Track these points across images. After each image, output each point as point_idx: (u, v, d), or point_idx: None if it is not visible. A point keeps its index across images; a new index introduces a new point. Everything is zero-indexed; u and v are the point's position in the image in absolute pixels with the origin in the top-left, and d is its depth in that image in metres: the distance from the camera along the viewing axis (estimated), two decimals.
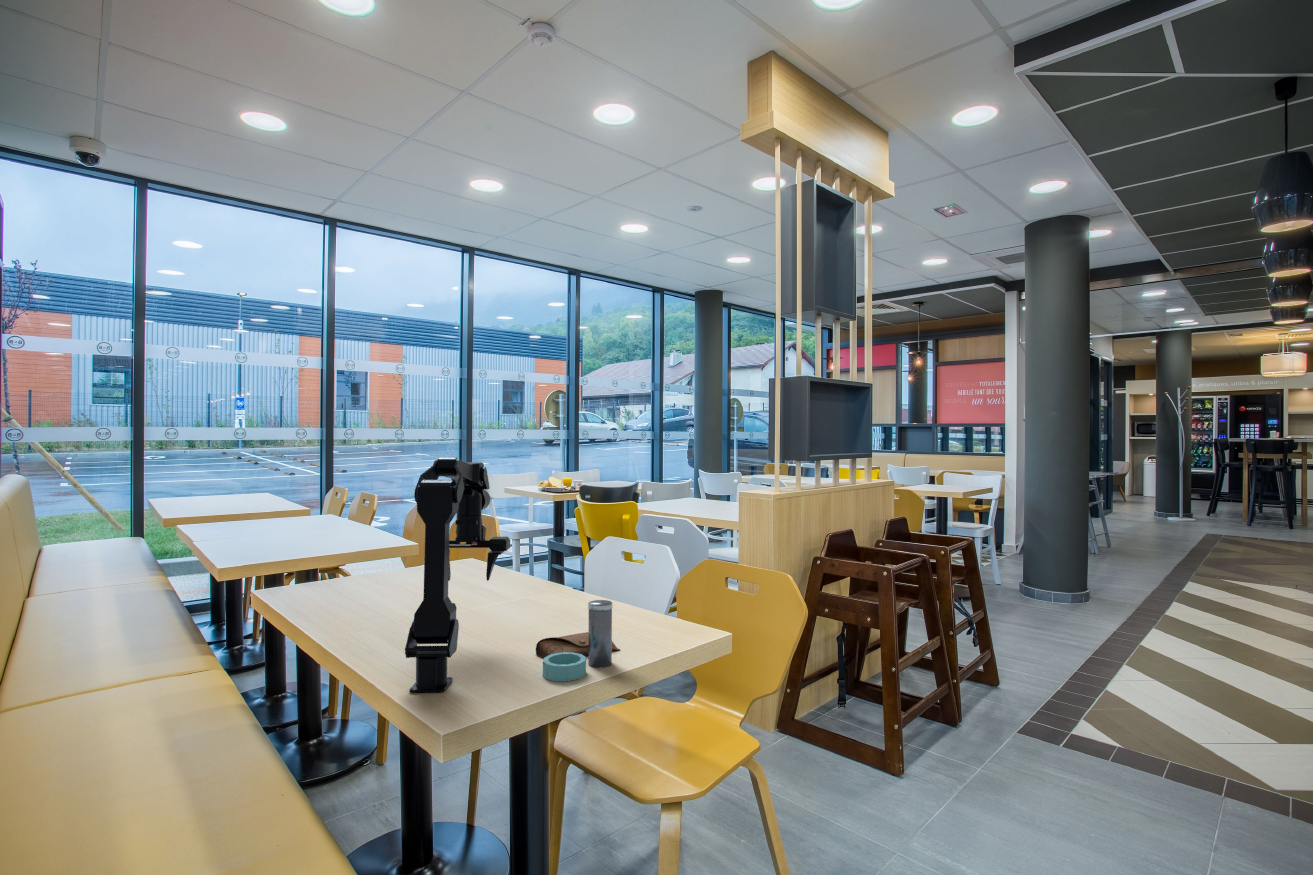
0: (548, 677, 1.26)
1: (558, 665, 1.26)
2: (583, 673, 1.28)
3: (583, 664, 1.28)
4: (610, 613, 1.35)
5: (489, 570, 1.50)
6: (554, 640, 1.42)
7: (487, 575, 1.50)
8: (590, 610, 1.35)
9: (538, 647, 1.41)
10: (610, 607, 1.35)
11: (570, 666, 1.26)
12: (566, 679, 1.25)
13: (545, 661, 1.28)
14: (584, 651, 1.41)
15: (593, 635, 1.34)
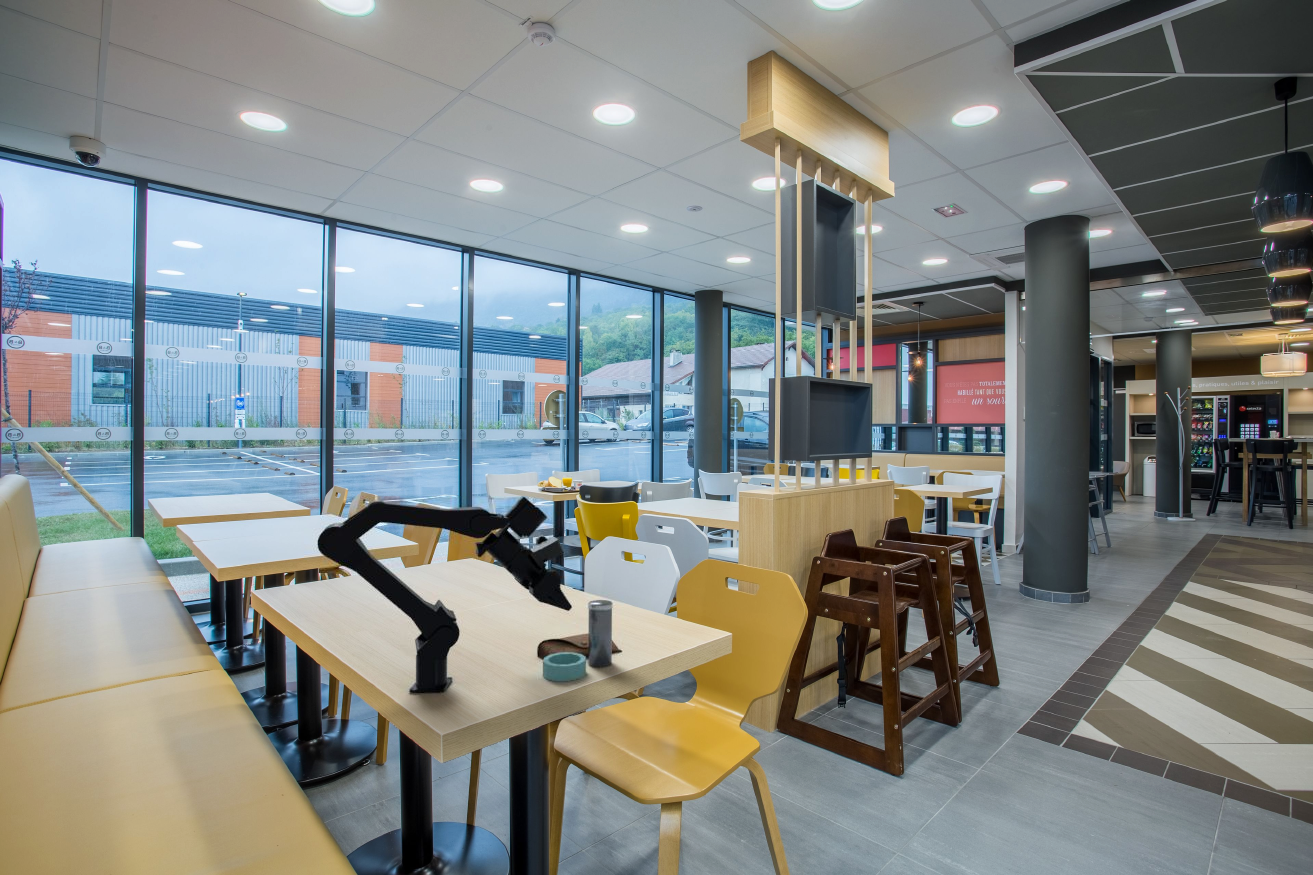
0: (548, 677, 1.26)
1: (558, 665, 1.26)
2: (583, 673, 1.28)
3: (583, 664, 1.28)
4: (610, 613, 1.35)
5: None
6: (555, 641, 1.41)
7: (562, 608, 1.28)
8: (590, 610, 1.35)
9: (539, 648, 1.40)
10: (610, 607, 1.35)
11: (570, 666, 1.26)
12: (566, 679, 1.25)
13: (545, 661, 1.28)
14: (586, 652, 1.40)
15: (593, 635, 1.34)
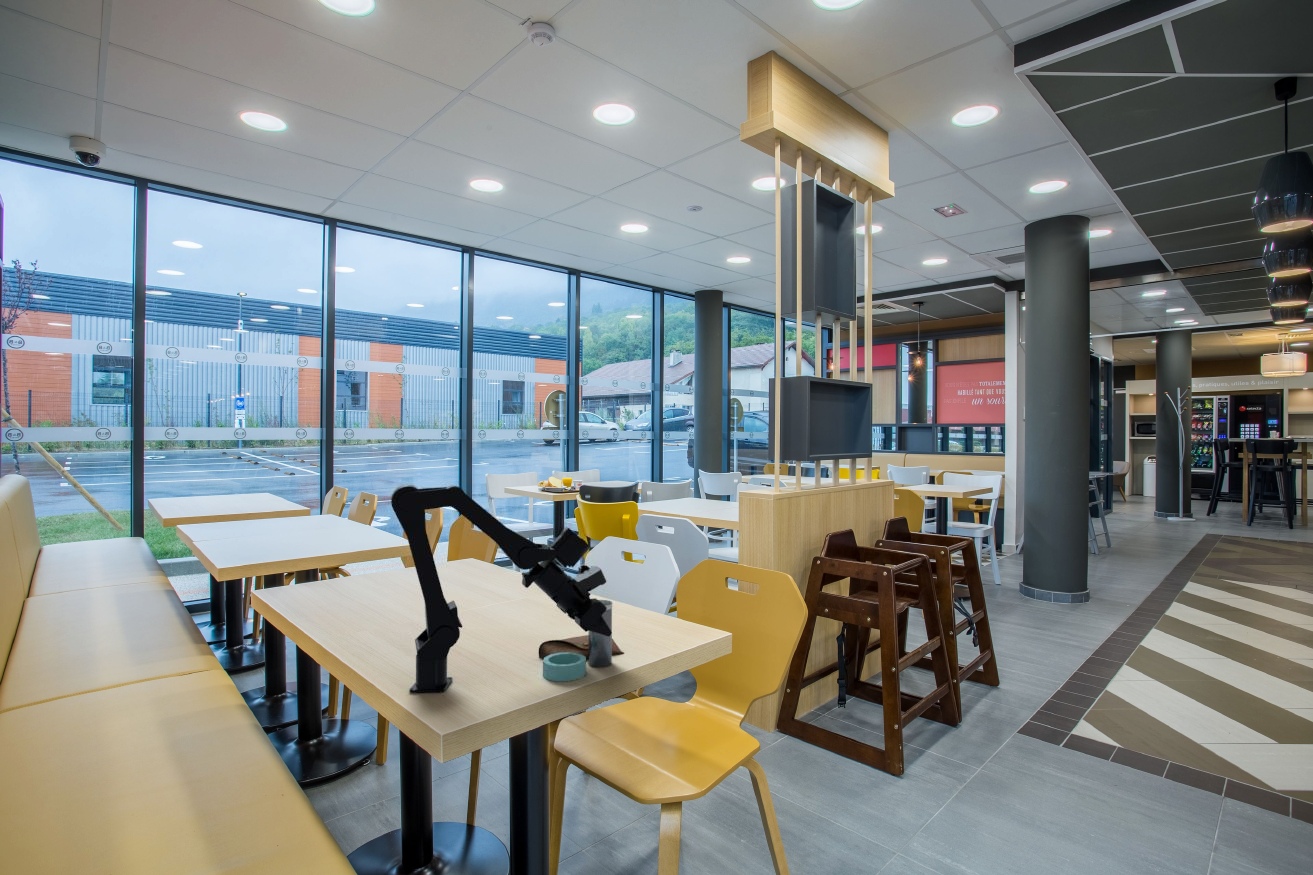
0: (548, 677, 1.26)
1: (558, 665, 1.26)
2: (583, 673, 1.28)
3: (583, 664, 1.28)
4: (610, 613, 1.35)
5: None
6: (557, 642, 1.40)
7: None
8: None
9: (540, 649, 1.39)
10: (610, 607, 1.35)
11: (570, 666, 1.26)
12: (566, 679, 1.25)
13: (545, 661, 1.28)
14: (587, 654, 1.39)
15: (593, 635, 1.34)
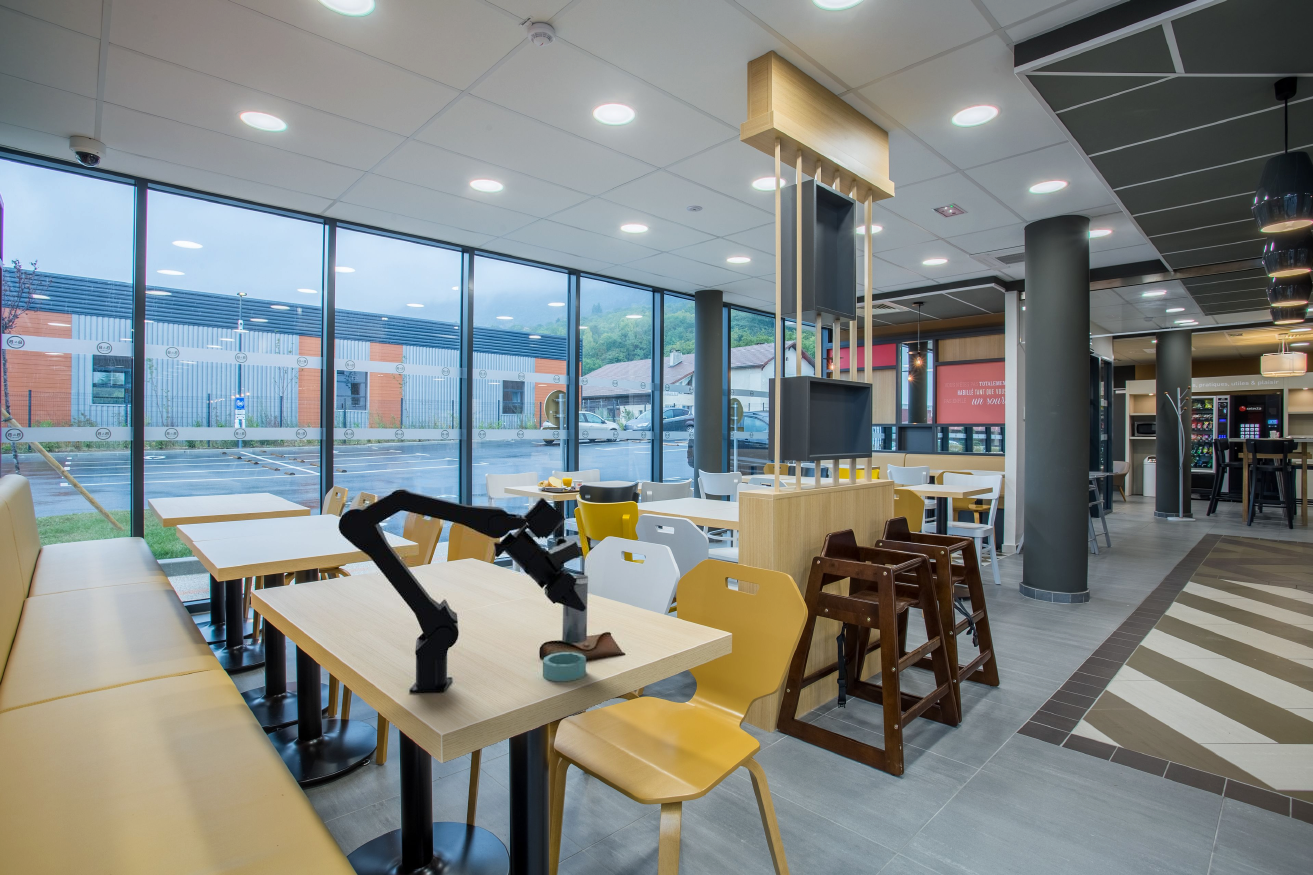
0: (548, 677, 1.26)
1: (558, 665, 1.26)
2: (583, 673, 1.28)
3: (583, 664, 1.28)
4: (585, 587, 1.31)
5: None
6: (558, 643, 1.40)
7: None
8: None
9: (541, 650, 1.39)
10: (585, 581, 1.31)
11: (570, 666, 1.26)
12: (566, 679, 1.25)
13: (545, 661, 1.28)
14: (588, 654, 1.38)
15: (566, 609, 1.30)
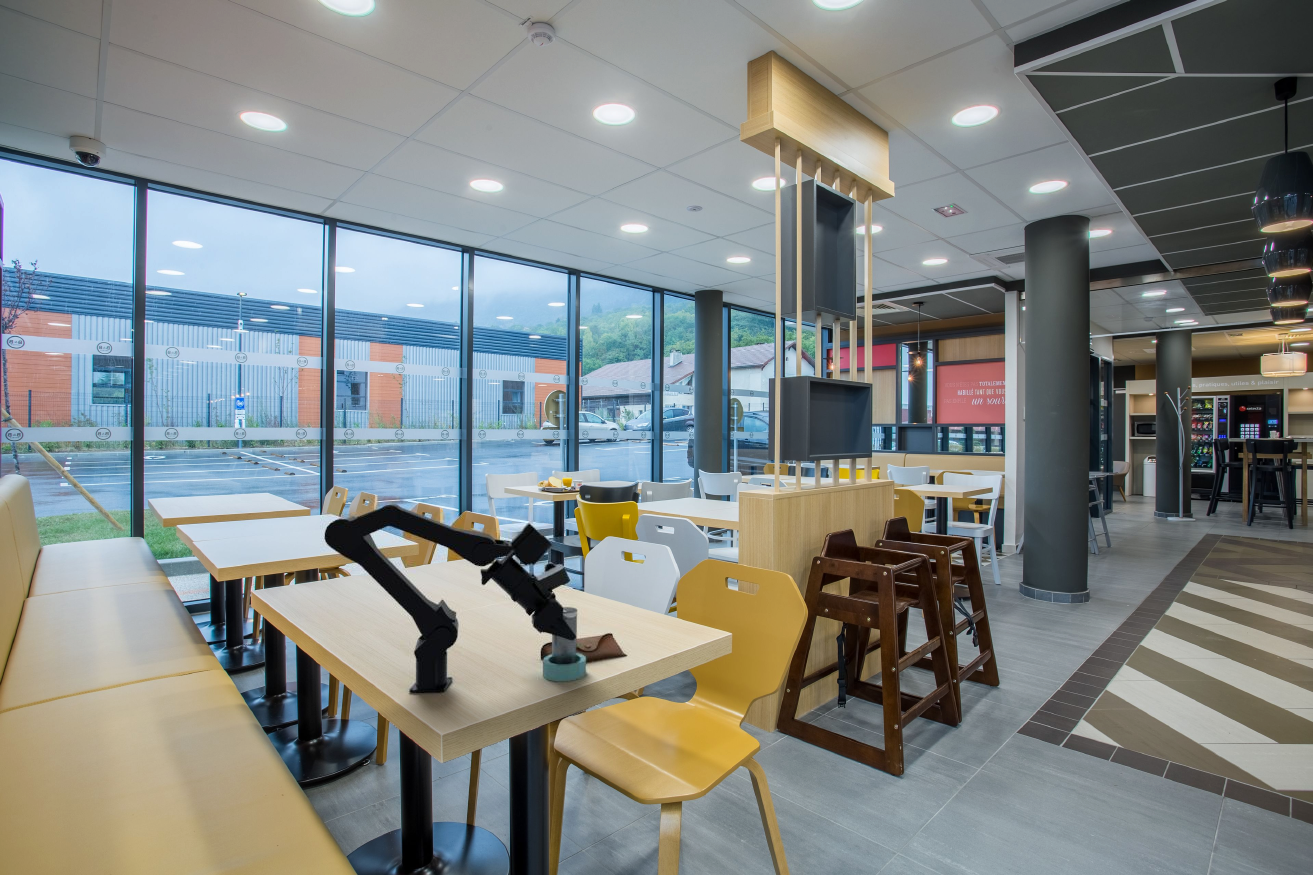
0: (548, 677, 1.26)
1: (558, 665, 1.26)
2: (583, 673, 1.28)
3: (583, 664, 1.28)
4: (574, 621, 1.29)
5: None
6: None
7: None
8: None
9: (542, 651, 1.38)
10: (574, 615, 1.28)
11: (570, 666, 1.26)
12: (566, 679, 1.25)
13: (545, 661, 1.28)
14: (589, 656, 1.37)
15: (555, 644, 1.28)
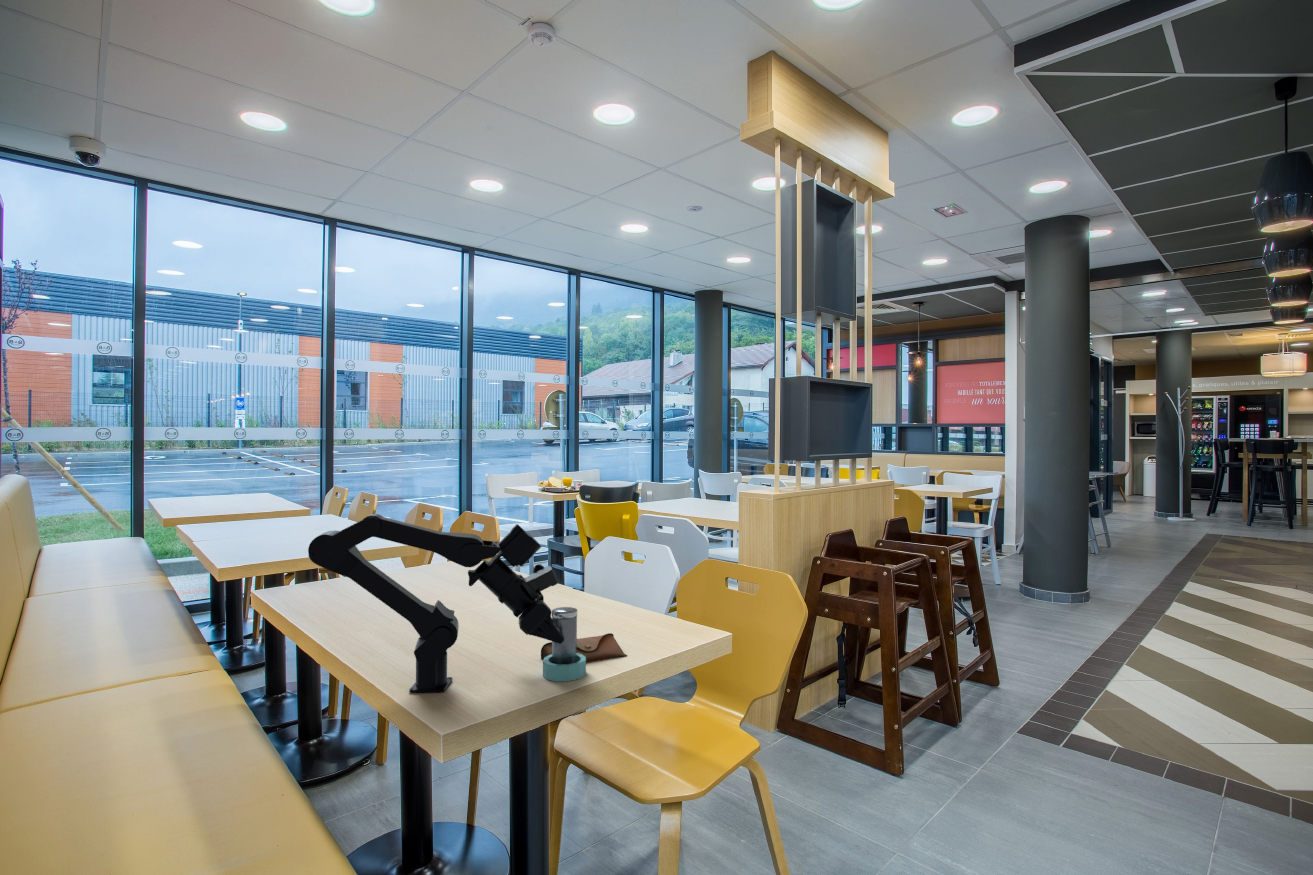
0: (548, 677, 1.26)
1: (558, 665, 1.26)
2: (583, 673, 1.28)
3: (583, 664, 1.28)
4: (574, 621, 1.29)
5: None
6: None
7: None
8: (553, 618, 1.29)
9: (543, 651, 1.38)
10: (573, 615, 1.28)
11: (570, 666, 1.26)
12: (566, 679, 1.25)
13: (545, 661, 1.28)
14: (589, 656, 1.37)
15: (555, 644, 1.28)
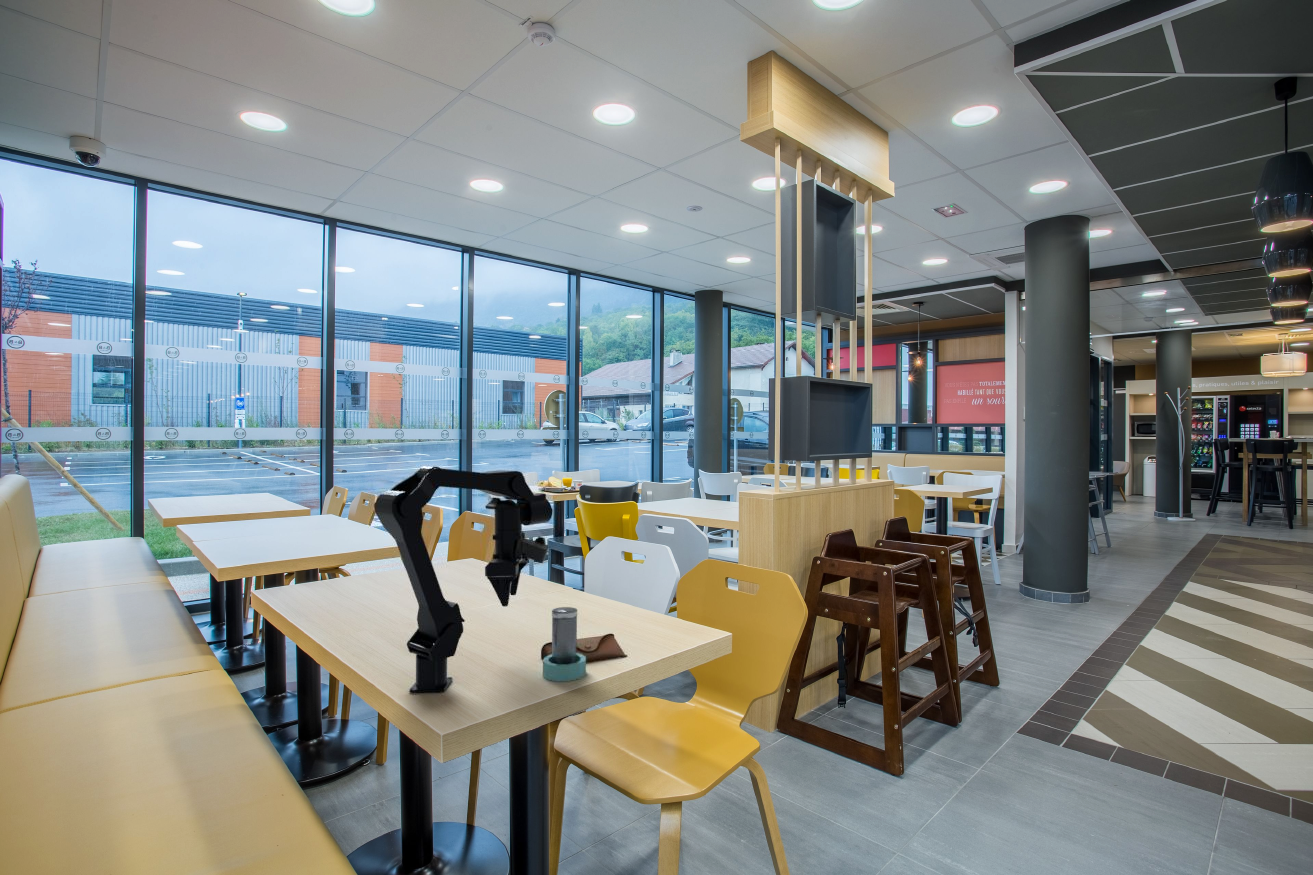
0: (548, 677, 1.26)
1: (558, 665, 1.26)
2: (583, 673, 1.28)
3: (583, 664, 1.28)
4: (574, 621, 1.29)
5: None
6: None
7: None
8: (553, 618, 1.29)
9: (543, 650, 1.38)
10: (574, 615, 1.28)
11: (570, 666, 1.26)
12: (566, 679, 1.25)
13: (545, 661, 1.28)
14: (589, 656, 1.37)
15: (555, 644, 1.28)
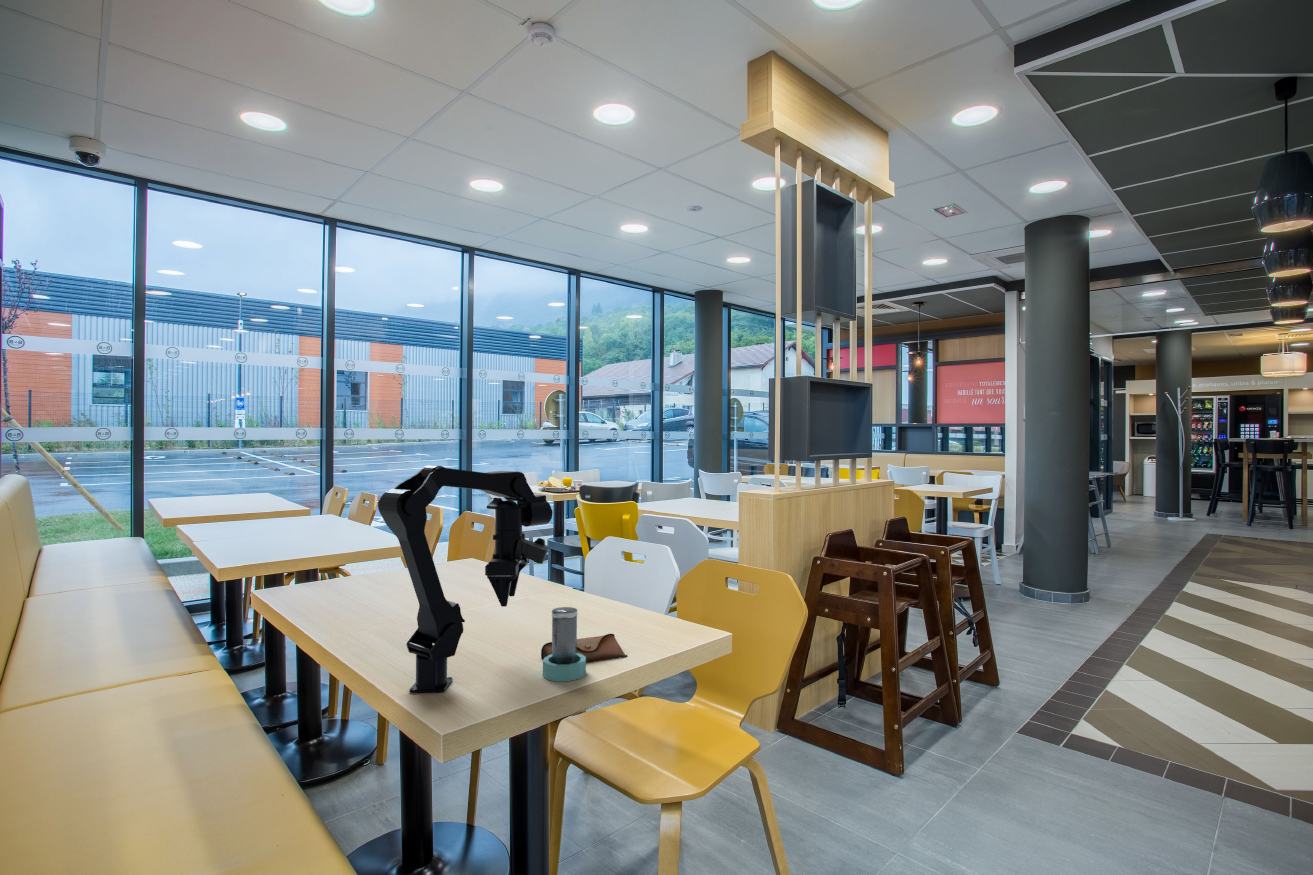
0: (548, 677, 1.26)
1: (558, 665, 1.26)
2: (583, 673, 1.28)
3: (583, 664, 1.28)
4: (574, 621, 1.29)
5: None
6: None
7: None
8: (553, 618, 1.29)
9: (543, 650, 1.39)
10: (574, 615, 1.28)
11: (570, 666, 1.26)
12: (566, 679, 1.25)
13: (545, 661, 1.28)
14: (589, 656, 1.37)
15: (555, 644, 1.28)
